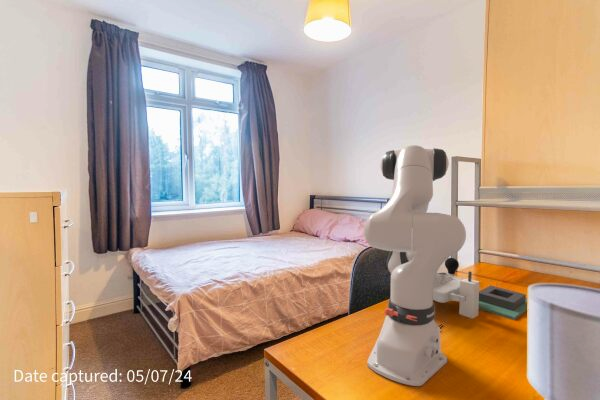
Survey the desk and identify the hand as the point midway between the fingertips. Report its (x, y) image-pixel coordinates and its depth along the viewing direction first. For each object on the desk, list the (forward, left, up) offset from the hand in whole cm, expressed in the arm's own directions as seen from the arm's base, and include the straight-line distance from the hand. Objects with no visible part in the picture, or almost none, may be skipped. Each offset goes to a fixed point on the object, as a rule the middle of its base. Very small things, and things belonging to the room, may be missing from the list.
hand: (471, 295), depth 105 cm
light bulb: (+36, +14, -7) cm, 39 cm away
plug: (0, +1, -7) cm, 7 cm away
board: (+17, -7, -7) cm, 20 cm away
